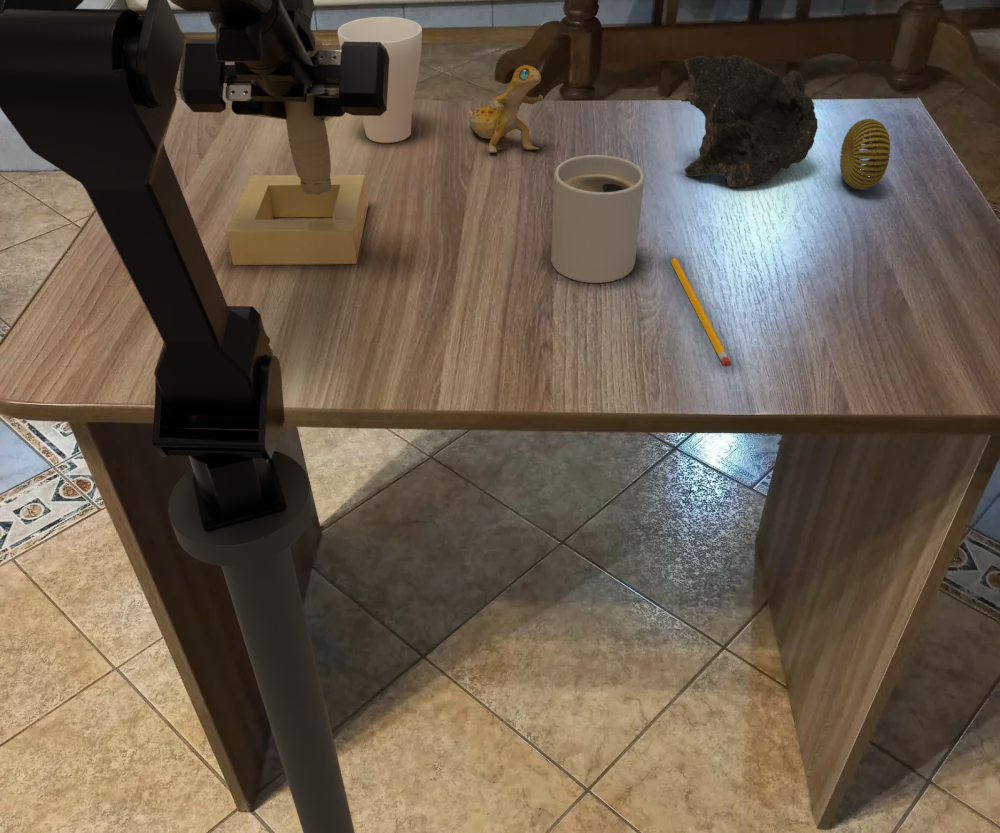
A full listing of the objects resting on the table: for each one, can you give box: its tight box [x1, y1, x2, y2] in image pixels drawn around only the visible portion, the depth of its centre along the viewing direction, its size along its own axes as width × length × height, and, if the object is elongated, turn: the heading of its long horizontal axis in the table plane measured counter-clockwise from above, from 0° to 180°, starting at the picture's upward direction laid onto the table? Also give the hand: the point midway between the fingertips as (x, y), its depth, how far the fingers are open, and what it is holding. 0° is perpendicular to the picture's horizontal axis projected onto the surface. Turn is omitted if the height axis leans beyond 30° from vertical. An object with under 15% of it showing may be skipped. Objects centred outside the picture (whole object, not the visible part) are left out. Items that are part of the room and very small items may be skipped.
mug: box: [550, 154, 645, 284], centre depth 93 cm, size 11×10×10 cm
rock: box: [680, 54, 819, 188], centre depth 111 cm, size 17×12×15 cm
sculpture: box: [839, 118, 891, 190], centre depth 106 cm, size 8×4×8 cm, turn 179°
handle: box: [284, 35, 332, 195], centre depth 90 cm, size 5×6×15 cm
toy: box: [467, 64, 544, 154], centre depth 116 cm, size 7×15×10 cm, turn 44°
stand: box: [225, 174, 369, 266], centre depth 99 cm, size 13×13×4 cm
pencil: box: [670, 257, 732, 367], centre depth 88 cm, size 1×18×1 cm, turn 6°
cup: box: [336, 16, 423, 144], centre depth 116 cm, size 10×10×14 cm
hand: (308, 115), depth 91 cm, fingers closed on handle, 3 cm apart
